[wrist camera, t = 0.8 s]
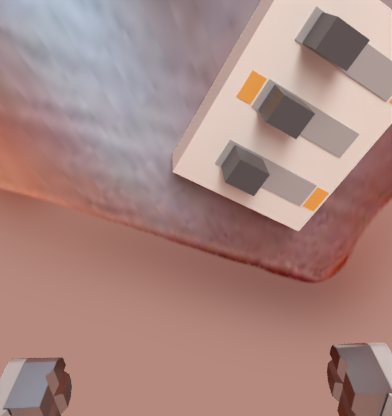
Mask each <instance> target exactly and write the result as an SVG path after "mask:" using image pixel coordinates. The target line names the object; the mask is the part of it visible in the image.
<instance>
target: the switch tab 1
mask: <svg viewBox="0 0 392 416" xmlns="http://www.w3.org/2000/svg"><path fill="white" fill-rule="evenodd" d="M221 169H222V173H223V177H224V181H225V183H227V184H229V185H232V186H234V187H236V188H238V189H240V190H242V191H244V192H246V193H248V194H250V195H252V196H255V194H256V193H257V192H258V190H259V189H260V187H261V186H262V185H263V183H264V182H265V181H266V179H267V178H268V177H269V175H270V174H269V172H268V170H267V168H266V165H265V163H264V161H263V159H261V158H259V157H257V156H255V155H253V154H251V153H250V152H248V151H246V150H244V149H242V148H240V147H238V146H236V145H235V146H234V147H233V149H232V150H231V152H230V153H229V155H228V156H227V158H226V159H225V161H224V162H223V164H222V165H221Z"/></svg>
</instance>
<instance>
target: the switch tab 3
mask: <svg viewBox="0 0 392 416" xmlns="http://www.w3.org/2000/svg"><path fill="white" fill-rule="evenodd" d="M369 41H370V40H369V39H368V38H367V37H365V36H364V35H362V34H361V33H360V32H358V31H357V30H356V29H354V28H353V27H352V26H350V25H349V24H347V23H346V22H345V21H343V20H342V19H341V18H339V17H338V16H334V15H331V14H328V13H324V12H322V14H321V15H320V17H319V18H318V20H317V21H316V23H315V24H314V26H313V27H312V29H311V30H310V32H309V33H308V35H307V36H306V38H305V39H304V41H303V42H302V43H304V44H305V45H307V46H308V47H310V48H311V49H313V50H314V51H316V52H317V53H319V54H320V55H322V56H323V57H325V58H326V59H328V60H329V61H331V62H332V63H334V64H335V65H337V66H339V67H341V68H342V69H344V70H346V71H347V70H348V69H349V68H350V66H351V65H352V64H353V62H354V61H355V60H356V58H357V57H358V55H359V54H360V53H361V51H362V50H363V49H364V47H365V46H366V45H367V43H368V42H369Z"/></svg>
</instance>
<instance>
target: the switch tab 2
mask: <svg viewBox="0 0 392 416" xmlns="http://www.w3.org/2000/svg"><path fill="white" fill-rule="evenodd" d="M258 110H259V112H260V114H261V115H262V117H263V118H264V120H265V122H266V123H268V124H270V125H272V126H273V127H275V128H277V129H279V130H281V131H282V132H284V133H286V134H288V135H289V136H291V137H293V138H295V139H297V138H298V136H299V135H300V134H301V132H302V131H303V130H304V128H305V127H306V126H307V124H308V123H309V121H310V120H311V119H312V117H313V116H314V115H315V113H314V112H313V111H312V110H311V109H310V108H309V107H308V106H307V105H306V104H305V103H304V102H303V101H301V100H300V99H298V98H297V97H295V96H293V95H292V94H290V93H288V92H287V91H285V90H283V89H282V88H280V87H279V86H277V85H274V86H273V88H272V90H271V91H270V93H269V94H268V96H267V97H266V99H265V100H264V102H263V103H262V105H261V106H260V108H259V109H258Z"/></svg>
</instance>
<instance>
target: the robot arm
mask: <svg viewBox="0 0 392 416" xmlns="http://www.w3.org/2000/svg"><path fill="white" fill-rule="evenodd" d="M330 355H331V357H332V360H331V361H330V362H329V363H328V368H327V376H328V383H329V387H330V391H331V393H332V396H333V397H334V398H335V399H336V400H337V401H339V406H338V414H339V416H392V353H391V351H390V349H389V347H388V345H386V344H385V343H355V344H338V345H332V347H331V350H330ZM65 366H66V364H65V362H64V359H63V358H20V359H12V360H10V361H9V362H8V363H7V365H6V367H5V369H4V371H3V373H2V375H1V377H0V416H61V415H60V414H61V413H62V412H63V411H64V410H65V409H66V408H67V407H68V405H69V401H70V397H71V389H72V385H71V379H70V376H69V374H68V373H66V372H65V371H64V369H65Z"/></svg>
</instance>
